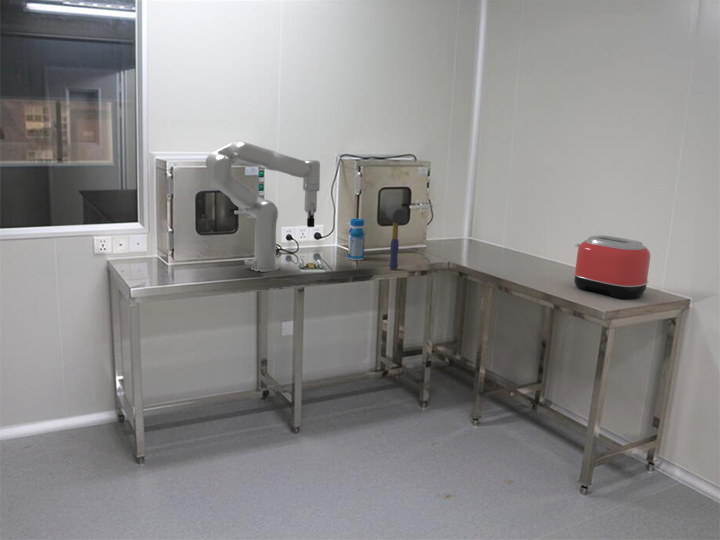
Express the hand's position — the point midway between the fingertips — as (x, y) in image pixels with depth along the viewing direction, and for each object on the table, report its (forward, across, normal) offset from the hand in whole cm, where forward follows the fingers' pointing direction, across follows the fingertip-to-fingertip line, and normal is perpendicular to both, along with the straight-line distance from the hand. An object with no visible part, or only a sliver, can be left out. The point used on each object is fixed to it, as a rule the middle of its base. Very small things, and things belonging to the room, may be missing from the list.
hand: (310, 226), depth 306 cm
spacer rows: (+18, +6, 0) cm, 19 cm away
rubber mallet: (+19, +7, +39) cm, 44 cm away
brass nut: (+18, +6, 0) cm, 19 cm away
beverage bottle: (+19, -17, +25) cm, 35 cm away
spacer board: (+19, +9, 0) cm, 21 cm away
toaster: (+20, +49, +124) cm, 135 cm away
